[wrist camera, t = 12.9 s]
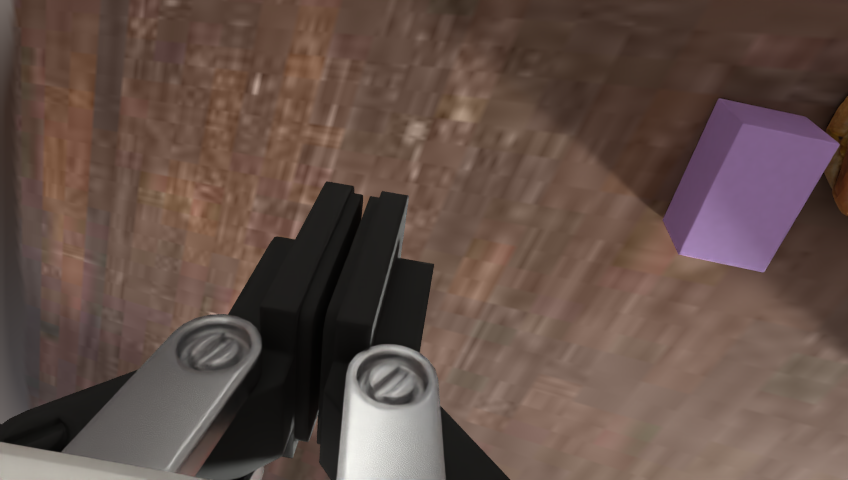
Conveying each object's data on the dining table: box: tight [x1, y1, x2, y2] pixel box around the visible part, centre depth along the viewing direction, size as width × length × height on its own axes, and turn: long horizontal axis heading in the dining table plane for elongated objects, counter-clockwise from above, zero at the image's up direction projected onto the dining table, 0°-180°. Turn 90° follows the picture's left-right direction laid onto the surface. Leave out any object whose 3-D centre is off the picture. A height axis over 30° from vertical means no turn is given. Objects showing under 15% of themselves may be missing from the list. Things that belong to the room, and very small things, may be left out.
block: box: [663, 98, 840, 272], centre depth 34 cm, size 8×5×4 cm, turn 170°
